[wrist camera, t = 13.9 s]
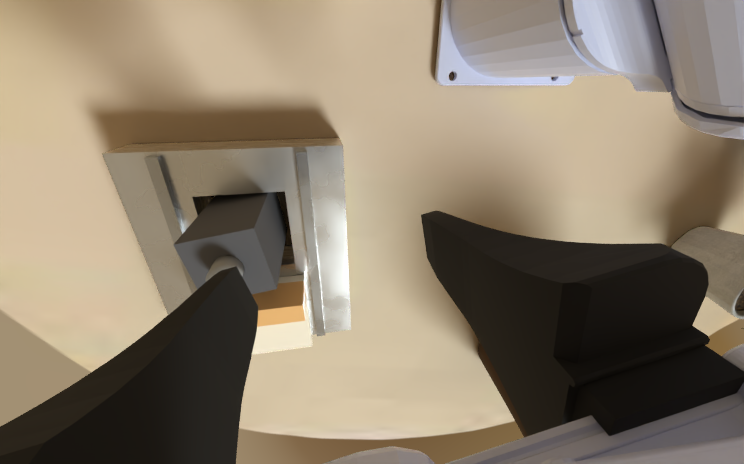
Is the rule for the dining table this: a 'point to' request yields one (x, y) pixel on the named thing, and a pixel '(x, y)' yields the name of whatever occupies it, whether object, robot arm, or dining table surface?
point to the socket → (242, 176)
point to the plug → (236, 240)
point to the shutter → (283, 317)
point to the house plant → (718, 264)
